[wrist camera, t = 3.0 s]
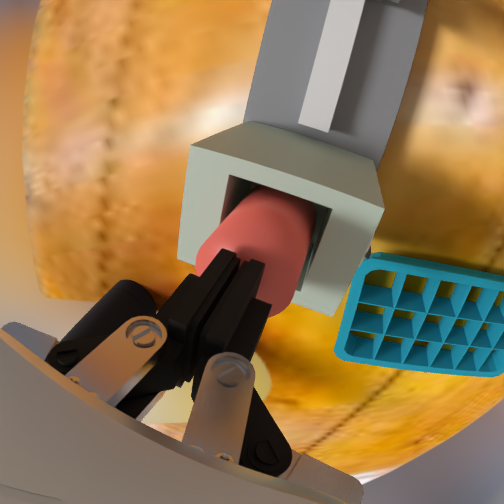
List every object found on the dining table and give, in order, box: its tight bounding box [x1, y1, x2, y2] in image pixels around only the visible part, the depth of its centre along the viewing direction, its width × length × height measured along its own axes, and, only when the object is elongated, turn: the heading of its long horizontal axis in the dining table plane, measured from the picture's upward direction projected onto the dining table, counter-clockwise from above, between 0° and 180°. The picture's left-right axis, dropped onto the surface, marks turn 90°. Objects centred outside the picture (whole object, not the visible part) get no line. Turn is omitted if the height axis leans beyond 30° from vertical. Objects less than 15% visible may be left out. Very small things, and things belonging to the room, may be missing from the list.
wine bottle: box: [60, 280, 156, 342], centre depth 25 cm, size 6×6×30 cm
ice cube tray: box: [334, 252, 504, 377], centre depth 24 cm, size 12×20×3 cm, turn 89°
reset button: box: [195, 184, 316, 317], centre depth 14 cm, size 4×4×6 cm
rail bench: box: [177, 0, 428, 317], centre depth 14 cm, size 10×26×10 cm, turn 167°
